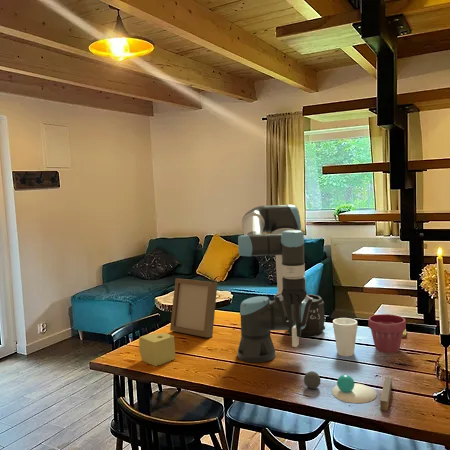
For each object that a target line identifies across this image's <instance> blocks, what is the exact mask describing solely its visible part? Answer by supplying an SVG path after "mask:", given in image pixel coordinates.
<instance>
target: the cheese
mask: <svg viewBox="0 0 450 450" xmlns="http://www.w3.org/2000/svg"><path fill="white" fill-rule="evenodd" d="M138 340H139V341H138V343H139V344H138V346H139V353H140V357H141V361H142V362H144V363H146V364H149V365H151V364H152V365H151V366H154V367H158V365H159V366H161V365H163V364H166V363H169V362H171V360H172V361H174V359H175V360H176V348H175V347H176V345H175V336H174V335H173V334H169V333H167V332H163V333H150V334H144V335H142V336H139V338H138Z"/></svg>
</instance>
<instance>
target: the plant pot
mask: <svg viewBox="0 0 450 450" xmlns="http://www.w3.org/2000/svg"><path fill="white" fill-rule="evenodd" d="M406 325H407V324H406V318H404V317H403V316H400V315H397V314H389V313H388V314H386V313H381V314H379V313H378V314H373V315H371V316H368V329H370V330H371V336H372V339H373V340H372V341H373V344H374V348H375V350H376V351H377V352H378V353H379V352H380V353H383V354H396V353H399V352H400V348H401V344H402V339H403V337H402V335H403V331H404V330H405V329H406V328H407V327H406ZM406 330H407V329H406Z"/></svg>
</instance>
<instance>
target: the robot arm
mask: <svg viewBox="0 0 450 450" xmlns="http://www.w3.org/2000/svg"><path fill="white" fill-rule="evenodd" d="M300 216H301V215H300V212H299V208H298V207H297V206H296V205H294V204H287V203H286V204H278V205H277V204H274V205H272V204H271V205H258V206H255V207H253V208H251V209H250V210H248V211H246V213H245V214H244V216H243V217H242V219H241V227H242V229H243V234H241V235H238V236H237V238H238V239H237V247H238V249H237V250H238V255H239V256H241V257H259V256H275V266H276V267H275V268H276V269H275V270H276V283H277V284H276V285H277V287H276V289H277V293H275V295H274V296H273V298H274V299H273V300H270V297H268V296H267V295H266V296H263V295H262V296H261V295H258V296H253V297H249V298H246V299H244V300H242V301H241V303H240V306H239V308H240V309H239V310H240V312H239V315H240V333H241V334H240V341H239V344H238V348H237V358H238V359H239V360H241V361H243V362H247V363H252V364H253V363H265V362H270V361H272V360H274V358H275V357H276V349H275V345H274V343H273V340H272V338H271V331H288V330H289V331H288V335H289V337H291V347H293V348H294V347H295V348H298V346H299V338H301V337H300V336H301V329H304V328H305V326H306V323H307V319H308V314H309V310H310V305H311V303H312V301H313V300H314V299H313V298H312V297H309V296H308V295H307V294H308V292H307V290H306V278H305V277H304V276H305V275H306V270H305V269H306V268H305V265H306V264H305V237H304V232H303V231H302V230H301V229H302V223H301V217H300ZM264 233H265V234H264ZM266 233H267V234H266ZM305 299H306V300H305Z"/></svg>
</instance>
